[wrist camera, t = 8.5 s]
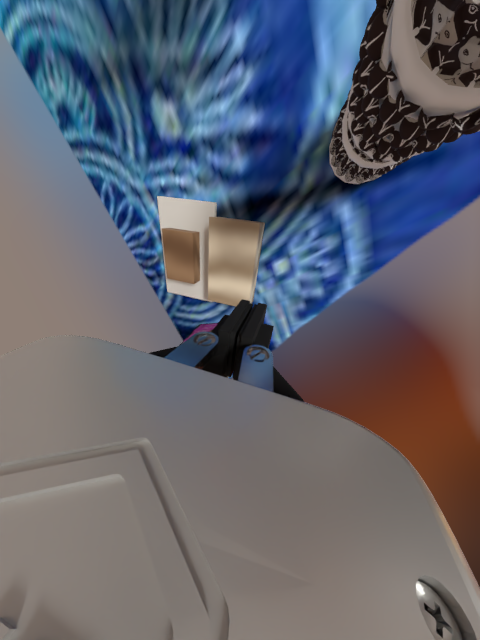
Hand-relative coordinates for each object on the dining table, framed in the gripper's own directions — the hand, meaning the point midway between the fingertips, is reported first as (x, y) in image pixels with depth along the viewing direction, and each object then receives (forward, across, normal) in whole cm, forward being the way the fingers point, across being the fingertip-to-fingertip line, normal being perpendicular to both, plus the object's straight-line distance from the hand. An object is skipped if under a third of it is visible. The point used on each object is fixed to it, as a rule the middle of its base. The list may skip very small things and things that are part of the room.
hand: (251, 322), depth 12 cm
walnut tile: (+20, +18, +2) cm, 27 cm away
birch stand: (+23, +8, +2) cm, 25 cm away
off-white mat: (+23, +18, +2) cm, 29 cm away
